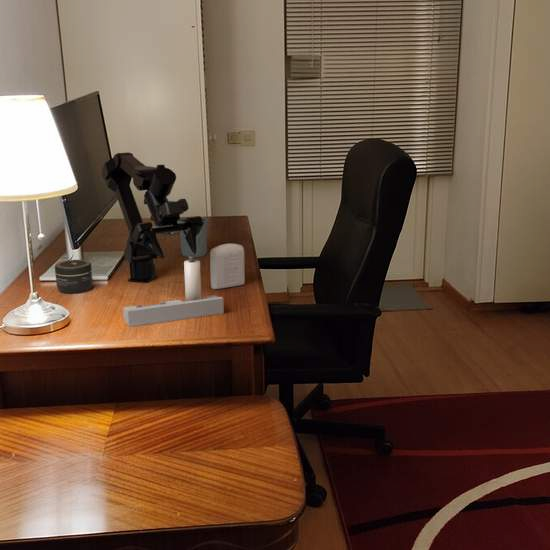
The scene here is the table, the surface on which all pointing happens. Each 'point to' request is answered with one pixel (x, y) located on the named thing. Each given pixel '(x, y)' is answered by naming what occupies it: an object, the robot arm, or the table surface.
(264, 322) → the table surface
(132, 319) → the cable duct
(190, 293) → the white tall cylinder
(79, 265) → the jar
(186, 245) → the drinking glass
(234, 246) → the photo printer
